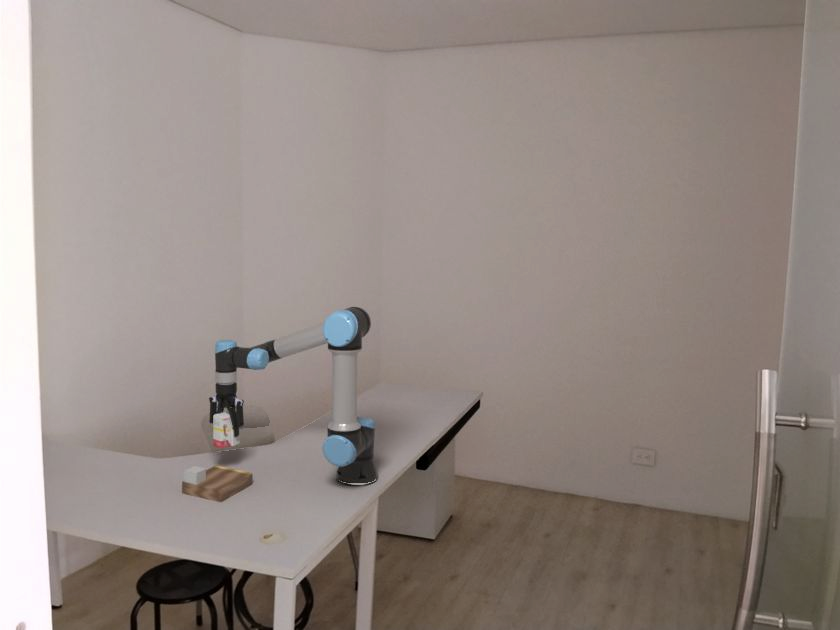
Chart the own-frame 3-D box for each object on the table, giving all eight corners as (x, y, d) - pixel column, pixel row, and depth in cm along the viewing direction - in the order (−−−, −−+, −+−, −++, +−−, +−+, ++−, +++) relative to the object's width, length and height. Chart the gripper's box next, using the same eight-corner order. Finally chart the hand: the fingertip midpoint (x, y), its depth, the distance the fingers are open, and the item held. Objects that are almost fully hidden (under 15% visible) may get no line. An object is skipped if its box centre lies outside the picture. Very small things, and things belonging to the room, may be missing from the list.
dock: (252, 484, 257) (252, 473, 257) (221, 502, 241) (221, 490, 240) (214, 476, 263) (215, 465, 262) (182, 493, 246) (182, 481, 246)
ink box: (221, 449, 262) (220, 417, 260) (212, 446, 265) (212, 414, 263) (240, 443, 269) (240, 412, 267) (232, 440, 272) (231, 410, 270)
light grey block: (205, 479, 249) (205, 468, 248) (196, 484, 244) (196, 473, 244) (193, 477, 251) (193, 466, 250) (184, 481, 246) (184, 470, 245)
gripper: (254, 383, 264) (254, 444, 267) (211, 377, 270) (211, 437, 274) (242, 387, 257) (242, 450, 260) (198, 381, 264) (199, 443, 267)
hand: (226, 443), depth 267 cm, fingers closed on ink box, 6 cm apart
